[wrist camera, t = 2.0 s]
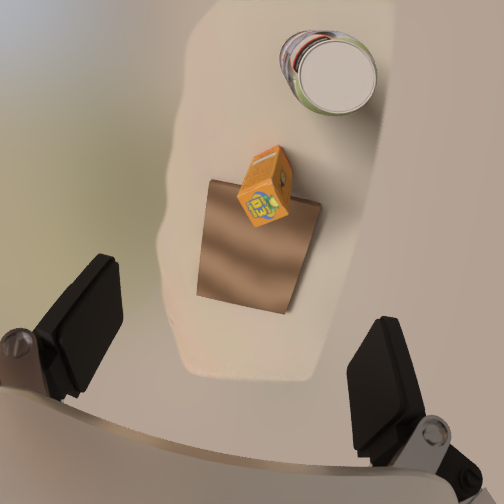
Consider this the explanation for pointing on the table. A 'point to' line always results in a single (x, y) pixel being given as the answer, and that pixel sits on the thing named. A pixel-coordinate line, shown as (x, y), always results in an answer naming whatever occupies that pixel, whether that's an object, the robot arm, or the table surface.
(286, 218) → the walnut board
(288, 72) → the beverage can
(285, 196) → the supplement box
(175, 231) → the table surface
